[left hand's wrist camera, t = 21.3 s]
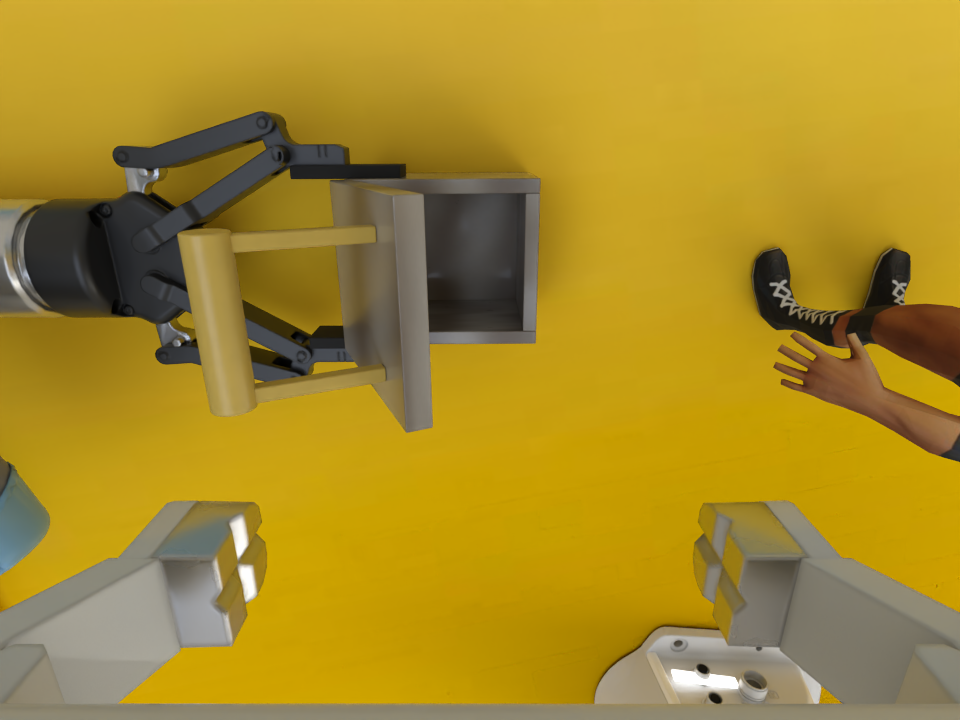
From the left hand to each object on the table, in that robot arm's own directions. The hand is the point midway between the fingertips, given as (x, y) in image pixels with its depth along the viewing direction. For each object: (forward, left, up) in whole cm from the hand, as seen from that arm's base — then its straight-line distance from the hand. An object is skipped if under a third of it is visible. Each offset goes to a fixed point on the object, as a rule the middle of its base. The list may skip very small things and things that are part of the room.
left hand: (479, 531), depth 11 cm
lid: (+5, 0, -19) cm, 20 cm away
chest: (+2, 0, -34) cm, 34 cm away
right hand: (+5, 0, -28) cm, 28 cm away
